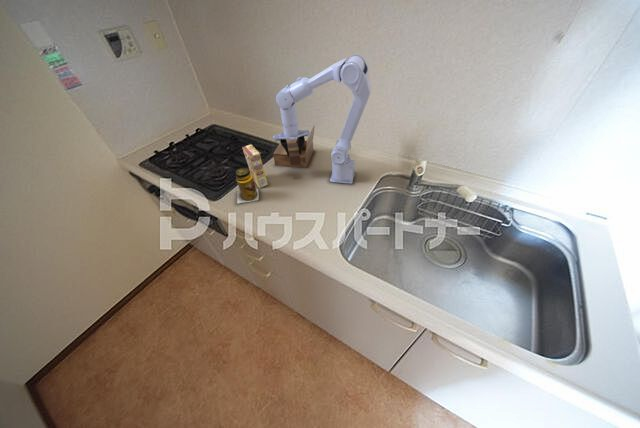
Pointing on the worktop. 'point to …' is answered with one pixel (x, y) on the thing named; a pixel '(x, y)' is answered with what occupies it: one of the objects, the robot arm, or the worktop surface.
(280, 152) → the brown wooden square box
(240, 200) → the condiment
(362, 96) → the robot arm
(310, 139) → the bin flap
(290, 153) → the chocolate bar
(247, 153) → the candy box
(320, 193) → the worktop surface
